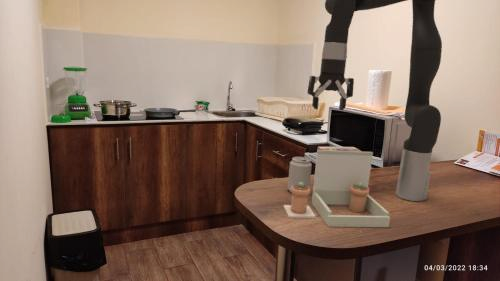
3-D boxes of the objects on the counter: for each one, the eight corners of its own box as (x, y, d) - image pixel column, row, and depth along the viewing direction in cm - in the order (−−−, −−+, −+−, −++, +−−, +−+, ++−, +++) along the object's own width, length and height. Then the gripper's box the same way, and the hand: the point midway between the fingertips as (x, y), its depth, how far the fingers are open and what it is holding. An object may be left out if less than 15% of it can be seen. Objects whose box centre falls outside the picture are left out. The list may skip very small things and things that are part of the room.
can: (308, 196, 125) (311, 162, 122) (286, 193, 126) (289, 160, 124) (309, 189, 132) (312, 157, 130) (288, 186, 134) (291, 154, 131)
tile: (308, 207, 116) (308, 205, 116) (315, 218, 108) (315, 216, 108) (283, 206, 115) (283, 205, 115) (288, 217, 107) (289, 215, 107)
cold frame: (364, 203, 122) (371, 151, 118) (388, 227, 105) (398, 167, 101) (311, 202, 120) (317, 149, 116) (328, 226, 103) (335, 165, 99)
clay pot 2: (362, 206, 120) (366, 179, 118) (369, 213, 114) (373, 186, 112) (345, 205, 119) (348, 179, 117) (350, 212, 114) (354, 185, 112)
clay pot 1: (305, 206, 114) (308, 179, 113) (310, 214, 109) (313, 185, 107) (287, 206, 114) (289, 178, 112) (290, 213, 108) (293, 184, 106)
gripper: (351, 59, 120) (345, 108, 123) (308, 56, 118) (303, 106, 121) (360, 59, 112) (353, 112, 116) (315, 56, 111) (310, 110, 114)
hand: (328, 109), depth 119 cm, fingers open, 8 cm apart
